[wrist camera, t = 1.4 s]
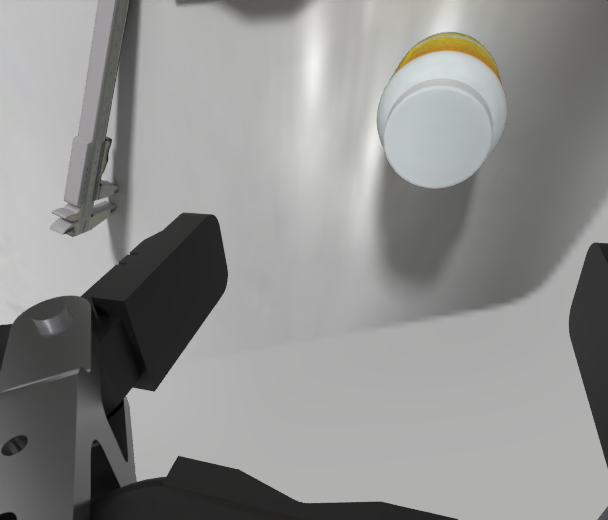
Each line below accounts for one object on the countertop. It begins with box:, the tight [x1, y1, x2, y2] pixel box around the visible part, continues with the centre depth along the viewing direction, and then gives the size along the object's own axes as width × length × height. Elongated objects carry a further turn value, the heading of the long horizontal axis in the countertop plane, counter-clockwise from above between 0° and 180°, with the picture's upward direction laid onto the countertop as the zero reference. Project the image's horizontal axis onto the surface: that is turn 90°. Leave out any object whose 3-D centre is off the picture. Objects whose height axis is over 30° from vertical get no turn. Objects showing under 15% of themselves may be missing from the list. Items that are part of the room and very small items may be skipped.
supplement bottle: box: [377, 32, 507, 189], centre depth 21 cm, size 5×5×10 cm
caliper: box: [50, 0, 130, 237], centre depth 28 cm, size 21×1×6 cm, turn 161°
